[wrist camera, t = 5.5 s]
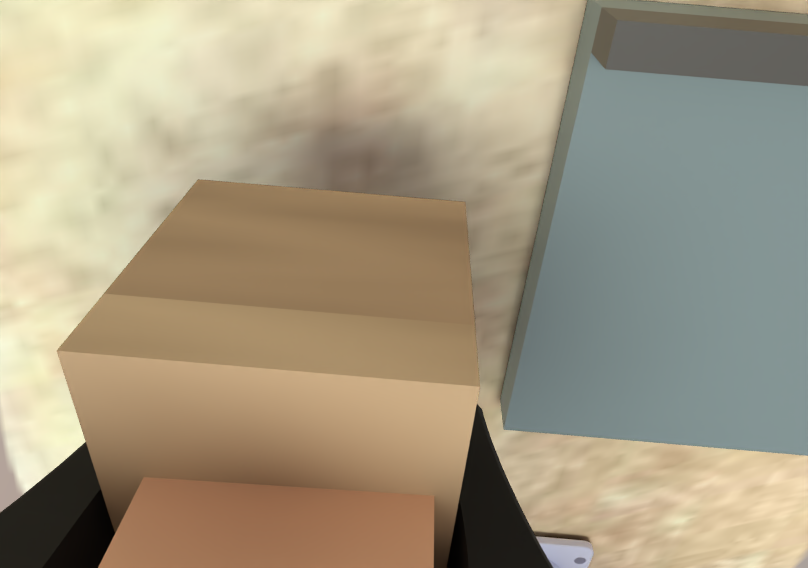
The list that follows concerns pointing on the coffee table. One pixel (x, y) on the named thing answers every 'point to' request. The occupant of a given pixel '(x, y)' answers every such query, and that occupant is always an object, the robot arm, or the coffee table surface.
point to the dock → (673, 236)
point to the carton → (270, 527)
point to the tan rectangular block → (286, 348)
